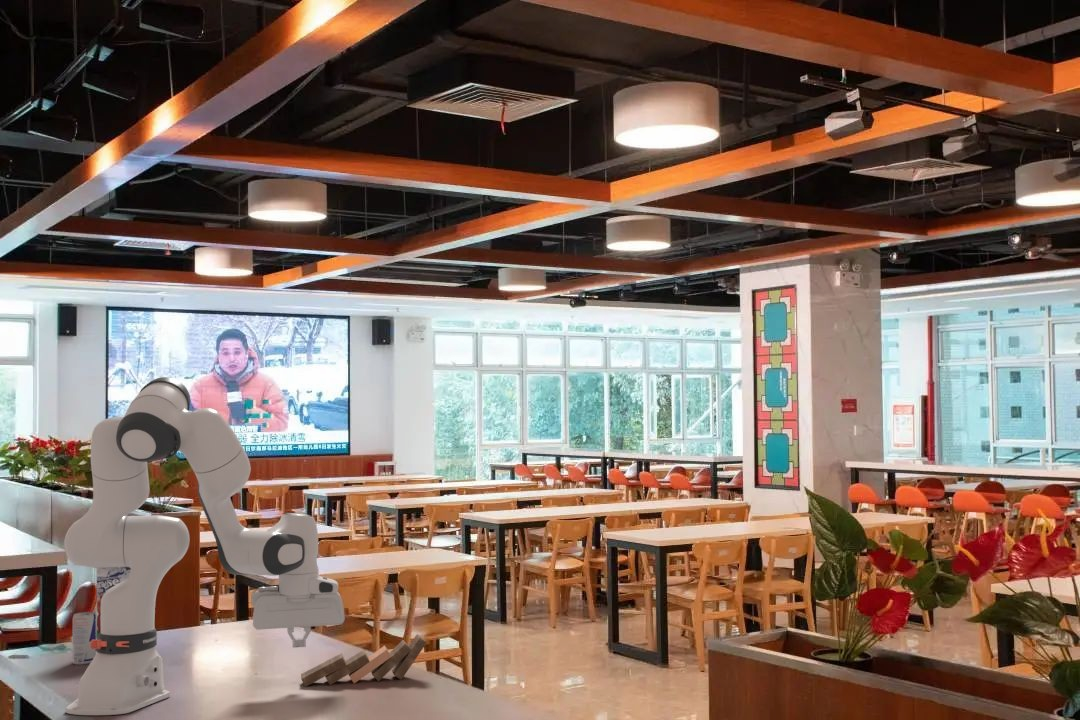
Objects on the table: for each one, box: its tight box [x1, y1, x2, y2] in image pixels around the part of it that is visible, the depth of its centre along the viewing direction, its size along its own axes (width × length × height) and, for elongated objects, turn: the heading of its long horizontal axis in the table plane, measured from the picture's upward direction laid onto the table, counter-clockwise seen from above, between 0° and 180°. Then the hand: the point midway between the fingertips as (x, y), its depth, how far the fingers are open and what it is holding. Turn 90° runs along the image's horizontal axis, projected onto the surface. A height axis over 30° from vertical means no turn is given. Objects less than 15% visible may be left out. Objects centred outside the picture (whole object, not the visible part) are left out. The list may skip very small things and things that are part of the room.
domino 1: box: [300, 652, 346, 688], centre depth 253 cm, size 2×5×10 cm
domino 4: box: [370, 639, 411, 682], centre depth 257 cm, size 2×5×10 cm
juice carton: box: [96, 567, 131, 640], centre depth 291 cm, size 9×10×27 cm
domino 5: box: [391, 633, 428, 681], centre depth 258 cm, size 2×5×10 cm
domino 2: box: [324, 649, 370, 686], centre depth 254 cm, size 2×5×10 cm
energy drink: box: [72, 611, 97, 666], centre depth 279 cm, size 5×5×12 cm
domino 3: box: [348, 645, 391, 684], centre depth 255 cm, size 2×5×10 cm
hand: (299, 646), depth 252 cm, fingers closed
